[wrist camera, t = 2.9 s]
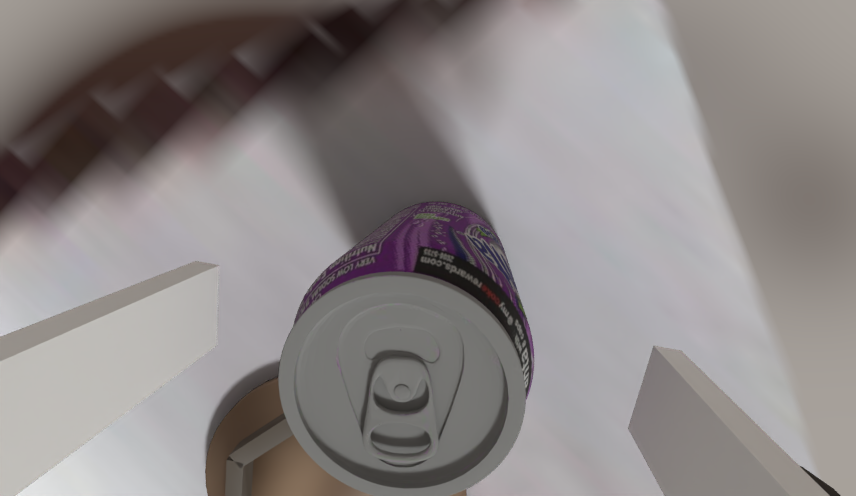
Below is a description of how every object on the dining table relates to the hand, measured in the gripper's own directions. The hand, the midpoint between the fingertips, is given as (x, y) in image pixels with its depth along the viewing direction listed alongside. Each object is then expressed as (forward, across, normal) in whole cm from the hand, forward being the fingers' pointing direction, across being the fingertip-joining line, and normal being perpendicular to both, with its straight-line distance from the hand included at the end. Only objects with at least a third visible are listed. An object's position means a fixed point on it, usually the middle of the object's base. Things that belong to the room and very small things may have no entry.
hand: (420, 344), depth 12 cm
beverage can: (+10, 0, 0) cm, 10 cm away
